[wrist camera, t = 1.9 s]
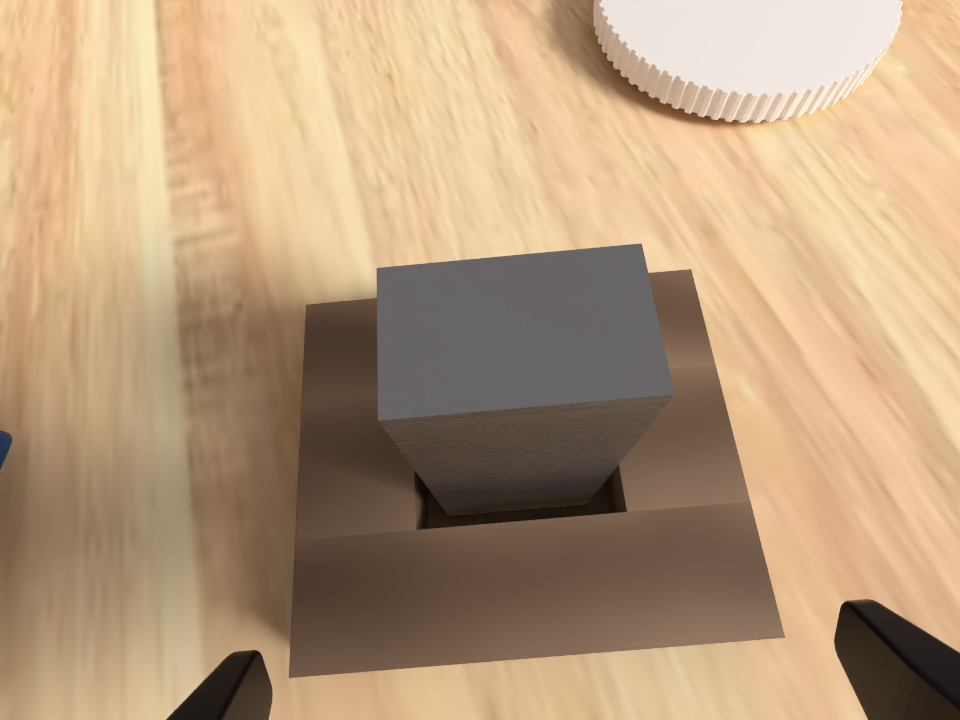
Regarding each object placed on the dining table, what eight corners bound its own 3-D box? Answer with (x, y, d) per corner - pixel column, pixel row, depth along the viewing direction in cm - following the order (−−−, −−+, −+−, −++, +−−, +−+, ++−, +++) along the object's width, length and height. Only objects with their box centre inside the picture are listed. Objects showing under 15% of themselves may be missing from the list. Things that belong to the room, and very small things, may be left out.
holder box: (744, 631, 19) (784, 637, 16) (321, 666, 19) (288, 678, 16) (669, 308, 23) (691, 269, 21) (330, 339, 24) (306, 304, 21)
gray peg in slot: (586, 504, 21) (675, 394, 10) (448, 515, 21) (378, 420, 10) (575, 424, 22) (641, 243, 11) (444, 435, 22) (376, 268, 11)
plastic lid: (539, 8, 31) (542, -40, 29) (745, -84, 33) (763, -136, 31) (703, 184, 26) (721, 144, 24) (933, 62, 28) (971, 14, 26)
